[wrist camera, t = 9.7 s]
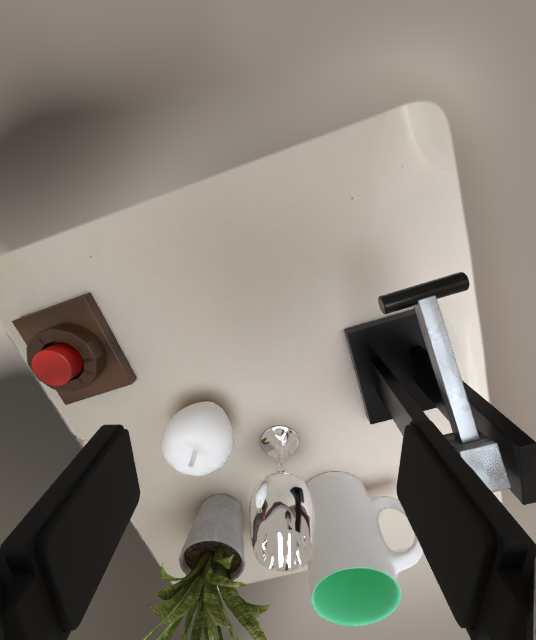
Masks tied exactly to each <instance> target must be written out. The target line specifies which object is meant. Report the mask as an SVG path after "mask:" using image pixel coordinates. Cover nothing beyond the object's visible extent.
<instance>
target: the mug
mask: <svg viewBox="0 0 536 640" xmlns="http://www.w3.org/2000/svg"><path fill="white" fill-rule="evenodd" d="M306 485H307V487H308V488H309V490H310V492H311V495H312V498H313V501H314V506H315V515H316V532H315V542H314V551H313V555H312V558H311V560H310V561H309V562H308V571H309V579H310V590H311V598H312V605H313V607H314V609H315V610H316V612H317V613H318V614H319V615H320V616H321V617H323V618H324V619H326V620H328V621H330V622H333V623H336V624H340V625H346V626H360V625H367V624H371V623H375V622H377V621H379V620H382V619H384V618H385V617H387V616H388V615H390V614H391V613H392V612H393V611H394V610H395V609H396V608H397V606H398V604H399V602H400V599H401V590H400V587H399V584H398V580H397V575H398V573H399V572H400V571H402V570H405V569H407V568H410V567H411V566H413V565H415V564H416V563H417V562H418V561H419V560H420V558H421V556H422V553H423V550H422V548H421V546H420V544H419V541H418V539H417V537H416V535H415V540H414V543H413V545H412V546H411V547H410V548H409V549H408V550H407V551H405V552H401V553H397V552H394V551H392V550H391V549H390V548H389V547H388V546H387V545H386V543H385V541H384V539H383V537H382V534H381V531H380V528H379V523H378V516H379V513H380V512H381V511H382V510H384V509H387V508H392V509H396V510H399V511H400V512H402V513H403V514H404V515H405V516H406V514H405V512H404V510H403V508H402V505H401V503H400V501H399V500H398V499H395V498H392V497H388V496H380V497H375V498H371V497H369V496H368V495H367V492H366V490H365V487H364V485H363V484H362V482H361V481H360V480H359V479H357V478H356V477H354V476H353V475H350V474H348V473H344V472H327V473H323V474H320V475H318V476H316V477H314V478H312V479H311V480H310V481H309V482H308V483H307V484H306ZM406 517H407V516H406Z"/></svg>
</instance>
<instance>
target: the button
mask: <svg viewBox="0 0 536 640" xmlns="http://www.w3.org/2000/svg"><path fill="white" fill-rule="evenodd" d="M82 366H83V361H82V357H81V355H80V354H79V352H78V351H77V350H76V349H75V348H73V347H72V346H70V345H67V344H64V343H56V344H53V345H51V346H49V347H47V348H45V349H43V350H42V351H40V352H38V353H37V354H36V355H35V356H34V357H33V359H32V369H33V372H34V373H35V375H36V376H37V377H38V378H39V379H40V380H41V381H42V382H44V383H46V384H49V385H53V386H59V385H63V384H65V383H67V382H68V381H70V380H71V379H72V378H73V377H75V376H76V375H77V374H78V373H79V372H80V371H81V369H82Z"/></svg>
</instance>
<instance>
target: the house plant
mask: <svg viewBox="0 0 536 640" xmlns="http://www.w3.org/2000/svg"><path fill="white" fill-rule="evenodd" d="M179 562H180V567H181V568H182V570H183V572H184V573H185V574H186V575H187V576H186V577H184V578H173V577H171V576H170V575H168V574H167V573H166V572H165V570H164V569H163V562H162V568H161V571H160V576H161V578H162V579H164V580H166V581H177V580H181V581H180V582H178V583H176V584H174V585H172V586H170V587H168V588H166V589H164V590H162V591H160V592H159V593H156V595H158V596H159V597H160V598H162V599H163V600H168V601H166V602H165V603H162V604H160V605H158V606H155V607H153V608H151V609H152V610H153V611H154V612H155V613H156V614H157V615H158V616H160V617H162V618H165V619H164V620H163V621H162V622H161V623H159V624H158V625H157V626H156V627H155V628H154V629H153V630H152V631H151V632H150V633H149V634H148V635H147V636H146V637H145V638H144V639H143V640H146V639H147V638H148V637H149V636H150V635H151V633H153V632H154V631H155V629H157V628H158V627H159V626H160V625H161V624H162V623H163V622H164V621H165V620H166V619H167V618H168V617H170V616H172V615H173V616H172V618H170V619H168V620H166V621H165V622H164V623H163V624H166V623H169V622H171V623H170V624H169V626H168V627H167V628H166V629H165V631H164V632H163V633H162V634H161V635H160V636H159V637H158V638H157V639H156V640H169V639H170V638H171V636H172V634H173V633H174V631H175V629H176V627H177V626H178V624H179V623H180V621H181V619H182V618H183V616H184V614H186V613H187V612H188V614H187V618H186V622H185V627H184V632H183V635H182V637H181V639H180V640H187V639H188V635H189V631H190V627H191V622H192V619H193V615H194V612H195V610H196V607H197V605H198V610H197V614H196V617H195V620H194V624H193V629H192V634H191V640H202V636H203V632H204V635H205V640H209V637H210V640H218V638H217V635H216V633H218V635H219V640H223V638H222V633H221V628H220V626H223V627H226V628H228V629H229V631H230V634H231V636H232V638H233V640H238V638H237V636H236V634H235V632H234V631H233V628H232V626H231V624H230V622H229V619H228V617H227V614H226V612H225V609H224V607H223V604H222V602H221V599H220V596H219V594H218V591H217V585H218V588H219V590H220V592H221V594H222V597H223V600H224V601H225V603H226V605H227V607H228V608H229V609H230V610H231V611H232V612H233V614H234V615H235V617H236V618H237V619H238V620H239V622H240V623H241V624H242V625H243V626H244V627H245V628H246V630H247V631H248V632H249V633H250V634H251V636H252V637H253V638H254V639H255V640H267V639H266V637H265V635H264V632H263V630H262V629H261V626H260V624H259V622H258V621H257V620H256V617H258V616H259V615H258V614H261V613H263V612H265V611H266V610H267V609H268V608H269V606H270V605H265V606H264V605H263V606H259V605H253V604H249V603H246V602H245V601H244V600H243V599H242V598H241V597H240V596H239V594H238V592H237V590H236V589H235V587H240V586H245V585H247V584H244V583H242V582H234V581H233V580H235V579H236V578H238V577H239V576H240V574H241V573H242V572H243V569H244V566H245V560H244V543H243V527H242V511H241V506H240V504H239V503H238V501H237V500H235V499H234V498H233V497H230V496H228V495H223V494H217V495H212V496H211V497H209V498H207V499H206V500H205V501H204V502H203V503H202V505H201V507H200V510H199V512H198V514H197V517H196V519H195V521H194V523H193V526H192V528H191V530H190V533H189V535H188V537H187V539H186V542H185V544H184V546H183V549H182V551H181V553H180V557H179ZM200 592H201V593H200ZM199 594H200V596H199ZM198 597H199V599H198V601H197V598H198ZM196 602H197V603H196ZM198 602H199V604H198ZM219 604H220V605H219ZM149 607H150V605H149ZM220 607H221V608H220ZM221 610H222V611H221ZM222 612H223V614H222ZM223 615H224V616H223ZM214 623H215V624H216V625H217V630H218V631H217V630H216V627H215V625H214ZM226 624H227V626H226ZM208 634H209V637H208Z"/></svg>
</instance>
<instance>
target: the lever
mask: <svg viewBox="0 0 536 640" xmlns="http://www.w3.org/2000/svg"><path fill="white" fill-rule="evenodd" d="M468 288H469V280H468V277H467V276H466V274H464V273H463V272H459V273H456V274H452V275H449V276H446V277H442V278H439V279H436V280H432V281H429V282H426V283H422V284H419V285H416V286H412V287H409V288H406V289H403V290H399V291H396V292H393V293H389V294H386V295H383V296H380V297H379V298H378V303H379V306H380V309H381V311H382V312H383V314H388V313H391V312H394V311H398V310H401V309H405V308H408V307H411V306H414V308H415V312H416V315H417V318H418V321H419V324H420V328H421V331H422V334H423V337H424V341H425V344H426V347H427V350H428V353H429V357H430V360H431V363H432V366H433V370H434V373H435V376H436V379H437V382H438V386H439V389H440V392H441V395H442V399H443V402H444V405H445V408H446V411H447V415H448V418H449V421H450V424H451V428H452V431H453V433H450V434H445V435H444V437H445V438H446V439H447V440H448V441H449V443H450V444H451V445H452V446H453V447H454V449H455V450H456V451H457V452H458V453H459V455H460V456H461V457H462V458H463V459H464V461H465V462H466V463H467V464H468V465H469V466H470V467H471V468H472V469H473V470H474V471H475V472H476V474H477V475H478V476H479V477H480V478H481V480H482V481H483V482H484V483H485V484H486V486H487V487H488V488H489V489H490V490H491V491H492V492H496V491H500V490H505V489H509V488H511V485H510V482H509V479H508V476H507V473H506V469H505V466H504V463H503V460H502V457H501V453H500V450H499V447H498V444H497V442H495V441H494V440H492V439H491V438H489V437H488V436H486V435H485V434H483V433H482V432H480V431H478V430H477V427H476V424H475V421H474V418H473V415H472V411H471V408H470V405H469V402H468V399H467V395H466V392H465V389H464V386H463V383H462V379H461V376H460V373H459V370H458V366H457V363H456V360H455V357H454V354H453V350H452V347H451V344H450V341H449V338H448V334H447V331H446V328H445V325H444V321H443V318H442V315H441V312H440V309H439V305H438V302H437V299H438V298H442V297H445V296H449V295H452V294H455V293H459V292H462V291H466V290H467V289H468Z"/></svg>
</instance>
